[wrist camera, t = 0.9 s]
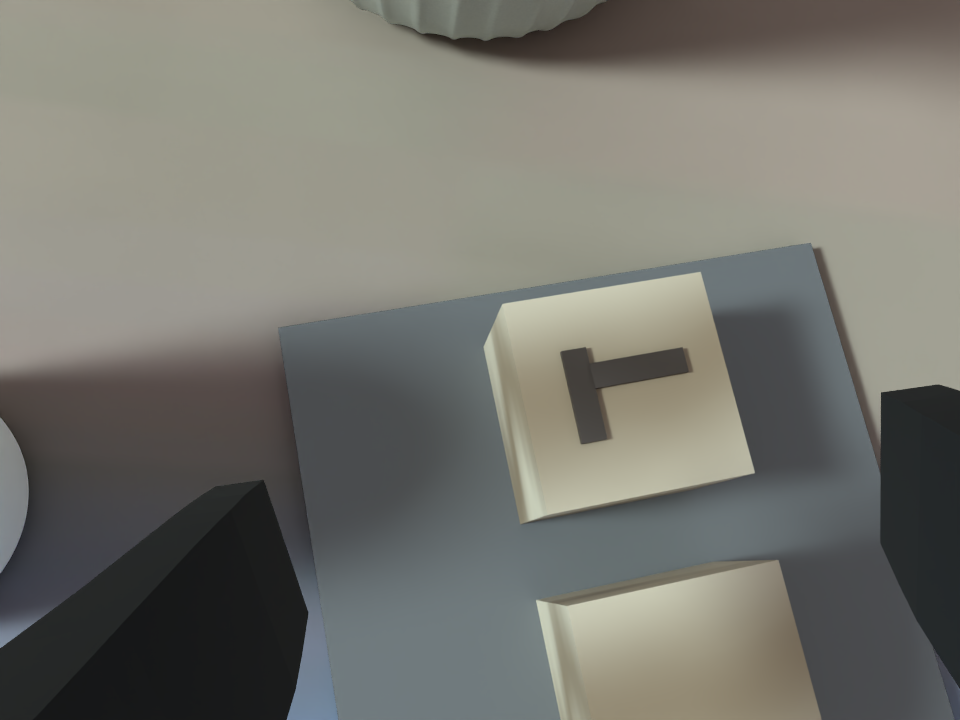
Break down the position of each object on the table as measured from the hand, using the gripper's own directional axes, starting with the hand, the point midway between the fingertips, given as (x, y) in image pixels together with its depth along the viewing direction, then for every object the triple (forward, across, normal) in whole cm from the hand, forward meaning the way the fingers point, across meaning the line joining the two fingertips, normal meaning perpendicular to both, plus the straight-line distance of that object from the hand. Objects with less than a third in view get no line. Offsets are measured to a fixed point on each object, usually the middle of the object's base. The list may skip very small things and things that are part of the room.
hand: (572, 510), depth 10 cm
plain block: (+9, -1, +11) cm, 14 cm away
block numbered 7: (+13, 0, +6) cm, 14 cm away
